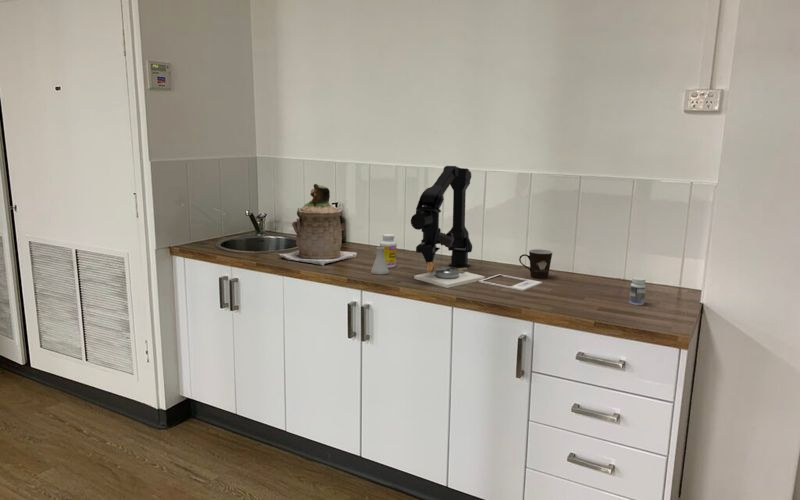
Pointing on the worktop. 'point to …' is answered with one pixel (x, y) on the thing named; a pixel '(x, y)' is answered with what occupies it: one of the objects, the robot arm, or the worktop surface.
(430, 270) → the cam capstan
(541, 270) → the coffee mug
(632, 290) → the pill bottle
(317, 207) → the cookie jar
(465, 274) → the stand
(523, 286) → the photo frame
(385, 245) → the supplement bottle
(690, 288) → the worktop surface
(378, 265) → the flask
